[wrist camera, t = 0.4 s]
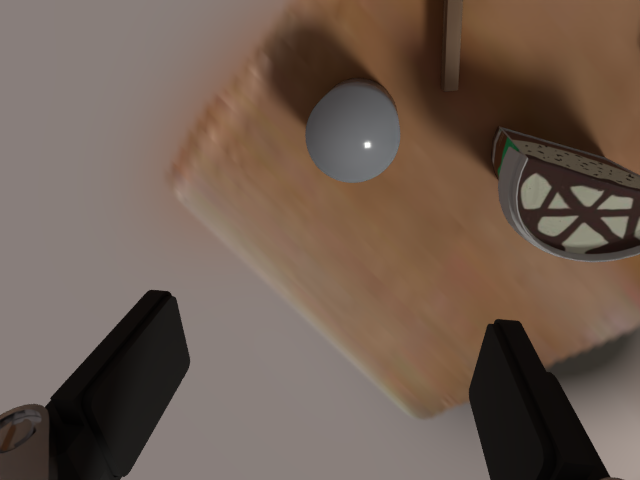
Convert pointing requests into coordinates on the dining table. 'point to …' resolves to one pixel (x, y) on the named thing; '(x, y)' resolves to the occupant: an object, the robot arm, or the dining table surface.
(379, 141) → the grey glossy rounded part
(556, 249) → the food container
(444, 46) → the frame
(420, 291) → the dining table surface
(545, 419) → the robot arm
